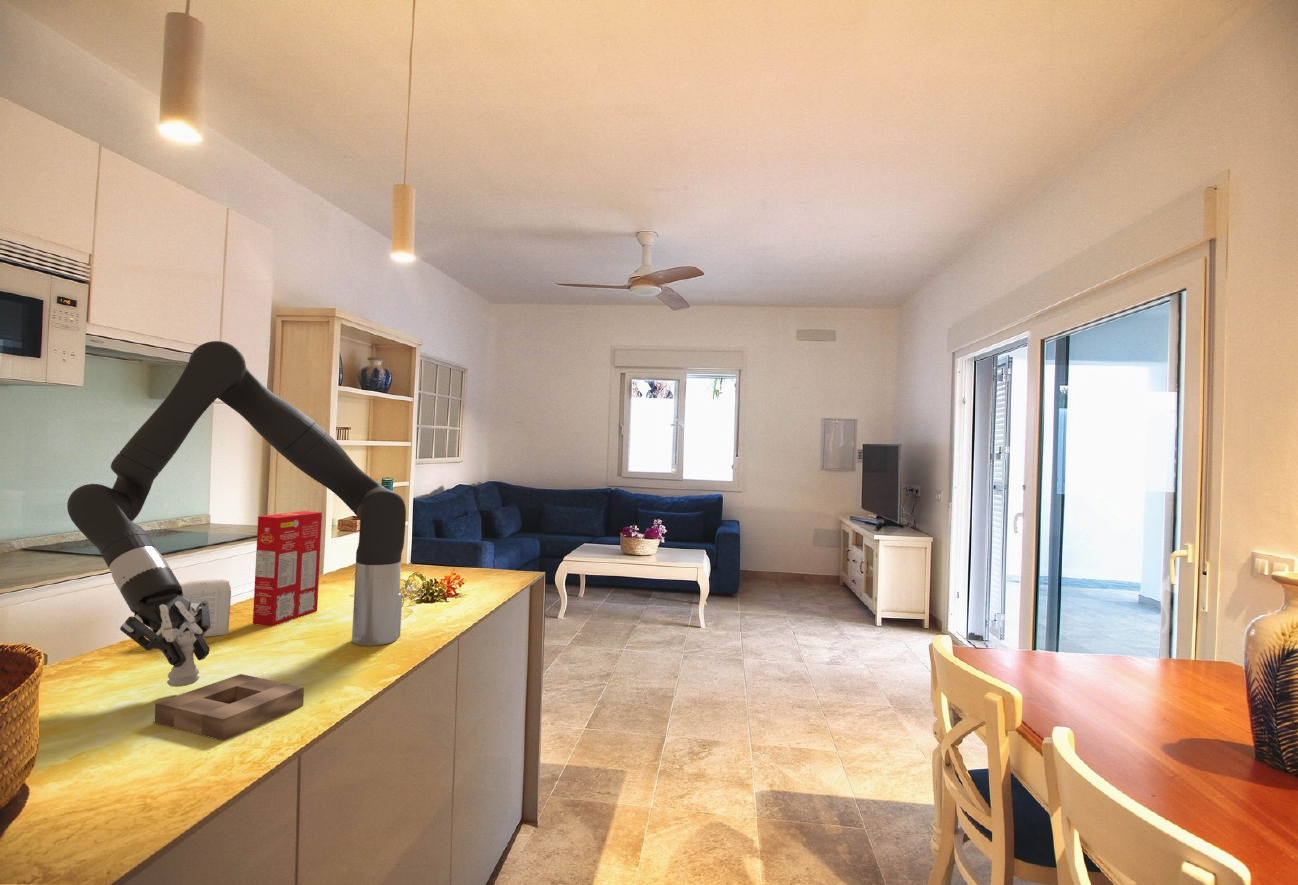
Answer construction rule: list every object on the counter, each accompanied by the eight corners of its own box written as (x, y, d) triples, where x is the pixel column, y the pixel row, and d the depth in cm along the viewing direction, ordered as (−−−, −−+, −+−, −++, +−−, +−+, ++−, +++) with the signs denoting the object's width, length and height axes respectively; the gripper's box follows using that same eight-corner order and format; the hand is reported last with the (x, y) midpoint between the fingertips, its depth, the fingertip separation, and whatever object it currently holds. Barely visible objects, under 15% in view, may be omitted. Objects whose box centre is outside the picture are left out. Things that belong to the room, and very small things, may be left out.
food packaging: (298, 609, 165) (303, 511, 165) (317, 611, 164) (322, 512, 164) (252, 624, 150) (258, 516, 150) (272, 626, 149) (277, 517, 149)
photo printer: (228, 630, 144) (231, 575, 145) (229, 635, 141) (232, 578, 141) (171, 636, 139) (174, 578, 139) (170, 641, 135) (173, 582, 135)
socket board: (239, 691, 111) (240, 673, 111) (303, 705, 106) (304, 686, 106) (154, 723, 97) (155, 702, 97) (222, 740, 93) (223, 719, 93)
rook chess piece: (177, 677, 110) (179, 630, 110) (205, 677, 111) (207, 630, 111) (160, 687, 106) (162, 638, 106) (188, 687, 106) (190, 638, 106)
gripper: (111, 572, 104) (161, 659, 100) (197, 559, 117) (244, 635, 113) (87, 601, 106) (135, 688, 102) (175, 585, 119) (221, 661, 115)
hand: (192, 660), depth 108 cm, fingers closed on rook chess piece, 3 cm apart
